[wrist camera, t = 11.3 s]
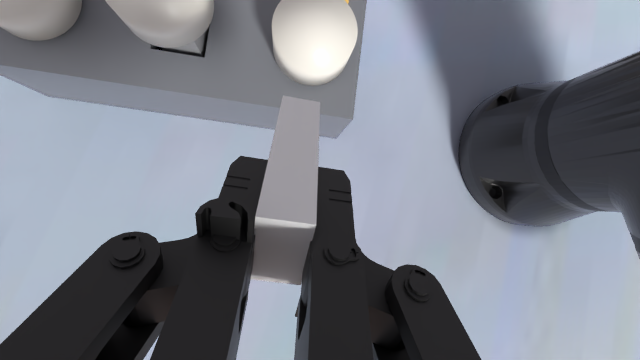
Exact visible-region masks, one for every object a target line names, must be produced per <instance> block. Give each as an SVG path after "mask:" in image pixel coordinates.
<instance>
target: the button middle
mask: <svg viewBox="0 0 640 360" xmlns="http://www.w3.org/2000/svg"><path fill="white" fill-rule="evenodd" d="M105 1H106V2H107V4H108V5H109V6H110V7H111V8H112V9H113V10H114V11H115V13H116V14H117V15H118V16H119V17H120V18H121V19H122V21H123V22H124V23H125V24H126V25H127V26H128V27H129V28H130V30H131V31H132V32H133V33H134V34H135V35H136V36H137V37H139V38H140V39H142V40H143V41H145V42H147V43H149V44H151V45H154V46H158V47H161V48H162V49H163V50H164V51H168V52H174V53H180V54H186V55H192V56H198V57H204V58H205V52H206V46H207V39H208V33H209V27H210V23H211V21H212V18H213V13H214V0H105Z"/></svg>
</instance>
